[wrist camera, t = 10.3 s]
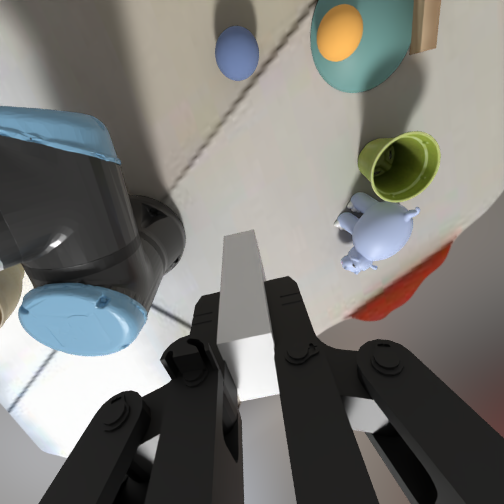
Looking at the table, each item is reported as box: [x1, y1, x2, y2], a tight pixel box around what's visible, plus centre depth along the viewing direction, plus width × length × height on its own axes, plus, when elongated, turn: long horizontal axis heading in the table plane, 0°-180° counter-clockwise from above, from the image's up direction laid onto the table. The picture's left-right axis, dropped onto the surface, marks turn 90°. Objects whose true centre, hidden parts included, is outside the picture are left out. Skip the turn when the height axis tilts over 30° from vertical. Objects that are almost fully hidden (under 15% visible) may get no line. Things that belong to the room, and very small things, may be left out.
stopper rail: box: [409, 0, 441, 55], centre depth 33 cm, size 2×8×2 cm, turn 12°
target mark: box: [310, 0, 414, 93], centre depth 35 cm, size 14×14×1 cm
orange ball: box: [317, 4, 363, 62], centre depth 33 cm, size 6×6×6 cm
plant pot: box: [358, 131, 441, 202], centre depth 39 cm, size 9×9×9 cm
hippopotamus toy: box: [334, 192, 420, 274], centre depth 45 cm, size 11×15×10 cm
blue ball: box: [215, 26, 259, 81], centre depth 33 cm, size 6×6×6 cm
